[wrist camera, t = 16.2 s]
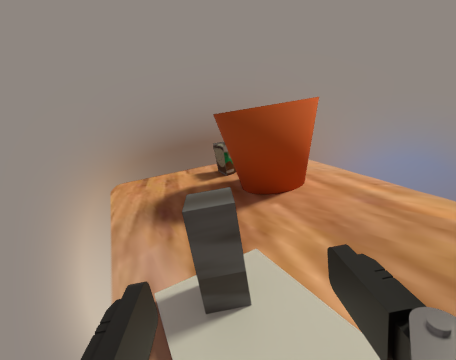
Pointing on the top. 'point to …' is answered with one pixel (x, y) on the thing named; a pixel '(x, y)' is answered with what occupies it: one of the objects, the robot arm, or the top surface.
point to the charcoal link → (216, 249)
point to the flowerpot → (270, 144)
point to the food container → (223, 159)
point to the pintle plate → (259, 322)
